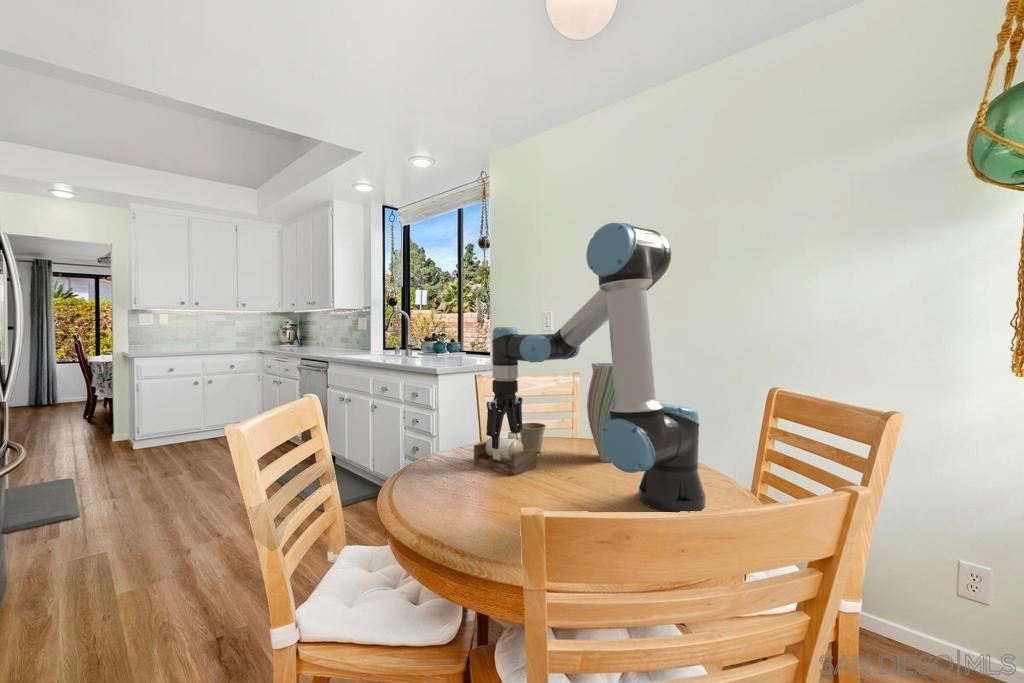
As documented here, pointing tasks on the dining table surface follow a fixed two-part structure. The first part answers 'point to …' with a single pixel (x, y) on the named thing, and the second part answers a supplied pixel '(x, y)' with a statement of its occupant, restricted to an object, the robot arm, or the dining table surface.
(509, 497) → the dining table surface
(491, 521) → the dining table surface
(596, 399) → the vase
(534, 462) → the cradle
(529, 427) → the flower pot
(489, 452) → the roll
